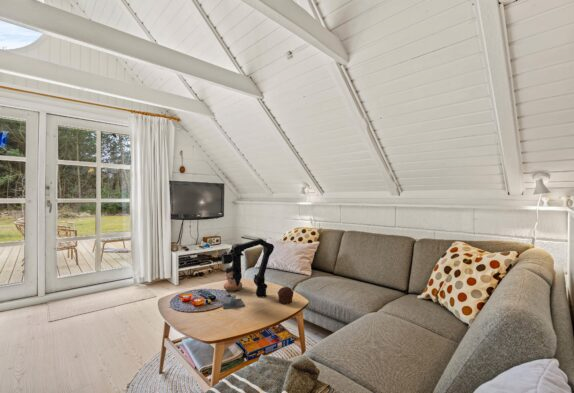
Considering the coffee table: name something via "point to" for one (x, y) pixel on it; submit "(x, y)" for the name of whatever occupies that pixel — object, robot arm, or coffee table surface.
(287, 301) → the muffin
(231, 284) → the ceramic jug
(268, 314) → the coffee table surface
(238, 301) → the flange plate
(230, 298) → the collar
